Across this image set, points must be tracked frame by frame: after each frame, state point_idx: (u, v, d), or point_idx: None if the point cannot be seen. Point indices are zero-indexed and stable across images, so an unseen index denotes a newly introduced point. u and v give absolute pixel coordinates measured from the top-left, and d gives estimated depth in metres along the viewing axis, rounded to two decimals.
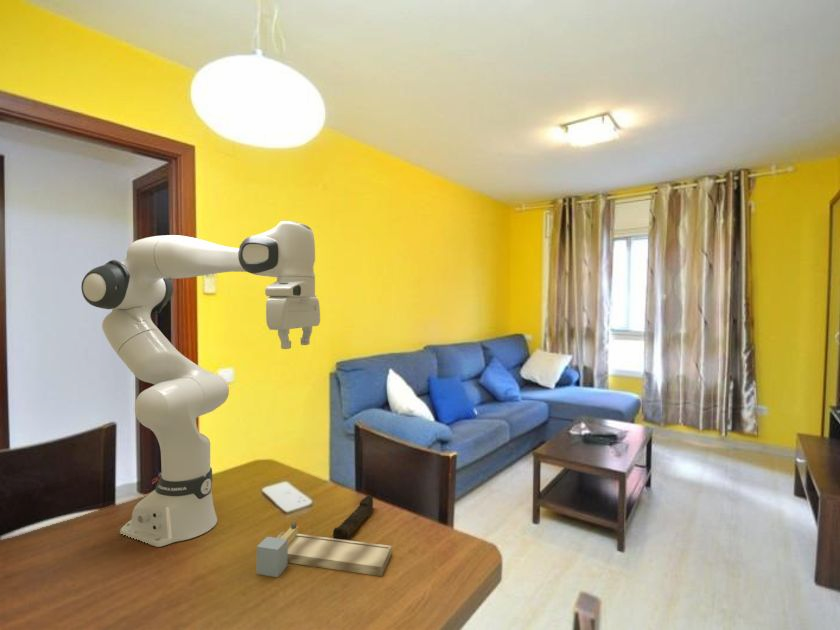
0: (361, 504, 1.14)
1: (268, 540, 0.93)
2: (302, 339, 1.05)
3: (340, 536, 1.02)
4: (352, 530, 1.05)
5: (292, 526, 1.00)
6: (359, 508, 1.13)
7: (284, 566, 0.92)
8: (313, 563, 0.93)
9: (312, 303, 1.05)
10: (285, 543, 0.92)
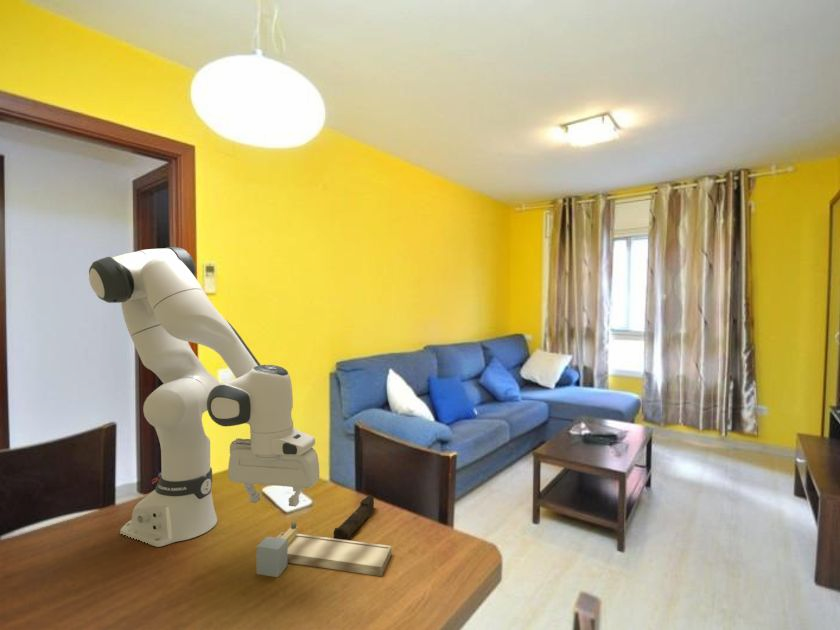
0: (362, 504, 1.14)
1: (268, 540, 0.93)
2: (255, 495, 0.92)
3: (340, 536, 1.02)
4: (352, 530, 1.05)
5: (292, 526, 1.00)
6: (360, 508, 1.12)
7: (284, 566, 0.92)
8: (313, 563, 0.93)
9: None
10: (285, 543, 0.92)
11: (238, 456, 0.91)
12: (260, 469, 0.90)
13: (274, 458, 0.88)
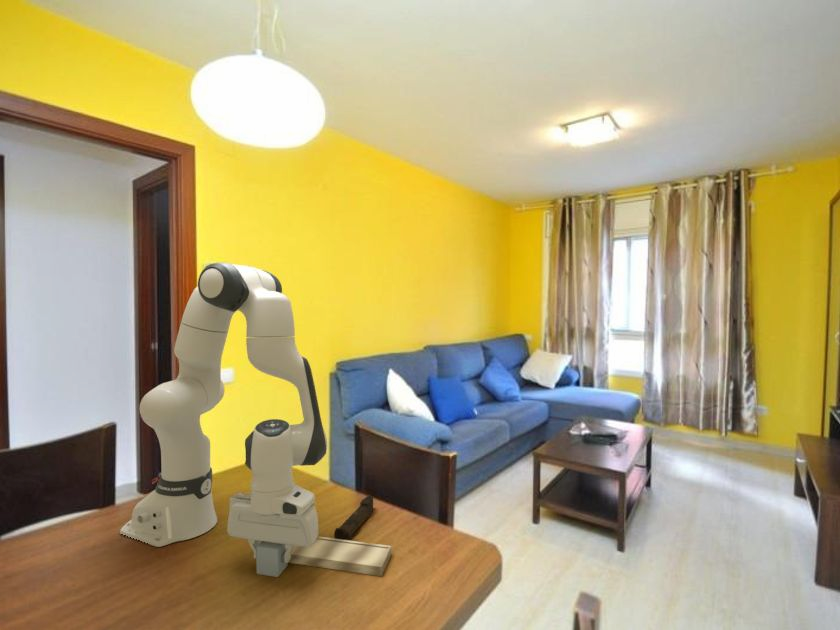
0: (362, 504, 1.14)
1: None
2: None
3: (341, 537, 1.02)
4: (353, 530, 1.05)
5: None
6: (360, 508, 1.12)
7: (284, 566, 0.92)
8: (313, 563, 0.93)
9: None
10: None
11: (238, 511, 0.91)
12: (259, 526, 0.90)
13: (274, 516, 0.89)
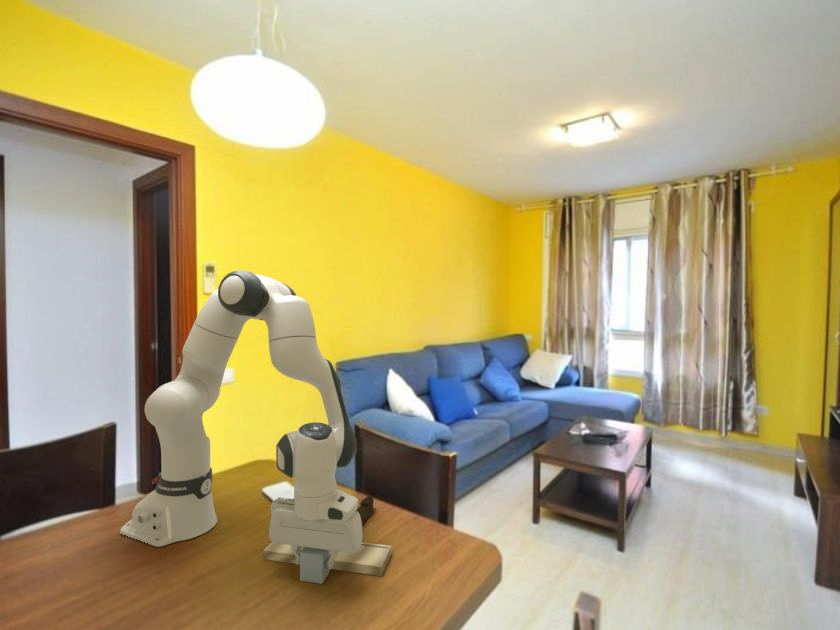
0: (362, 504, 1.14)
1: None
2: None
3: None
4: None
5: None
6: (360, 508, 1.12)
7: (327, 572, 0.90)
8: None
9: None
10: None
11: (280, 517, 0.89)
12: (302, 531, 0.88)
13: (318, 522, 0.86)
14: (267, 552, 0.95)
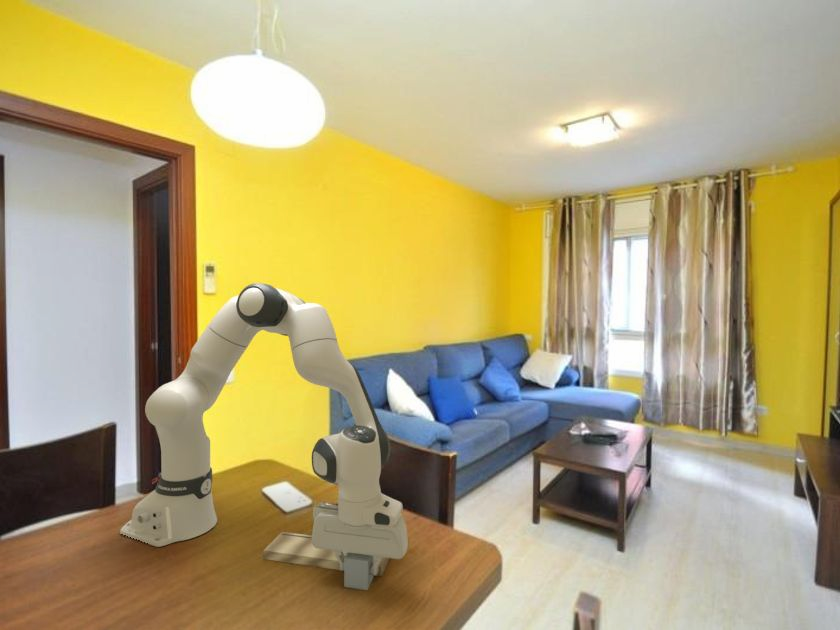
0: None
1: None
2: None
3: None
4: None
5: None
6: None
7: (371, 578, 0.88)
8: (313, 563, 0.93)
9: None
10: None
11: (324, 522, 0.87)
12: (347, 537, 0.86)
13: (364, 527, 0.85)
14: (267, 552, 0.95)
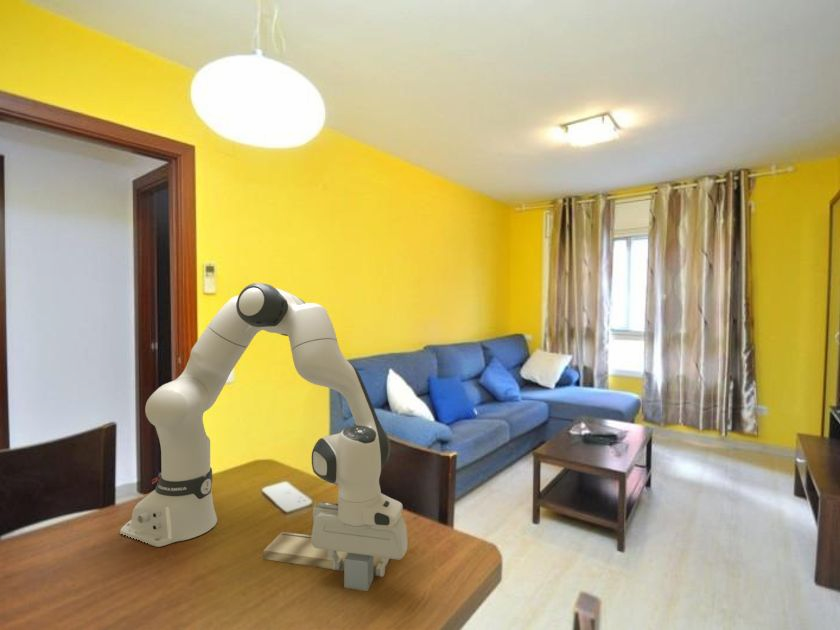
0: None
1: None
2: (339, 563, 0.88)
3: None
4: None
5: None
6: None
7: (371, 579, 0.88)
8: (313, 563, 0.93)
9: None
10: None
11: (323, 522, 0.87)
12: (347, 537, 0.86)
13: (363, 527, 0.84)
14: (267, 552, 0.95)
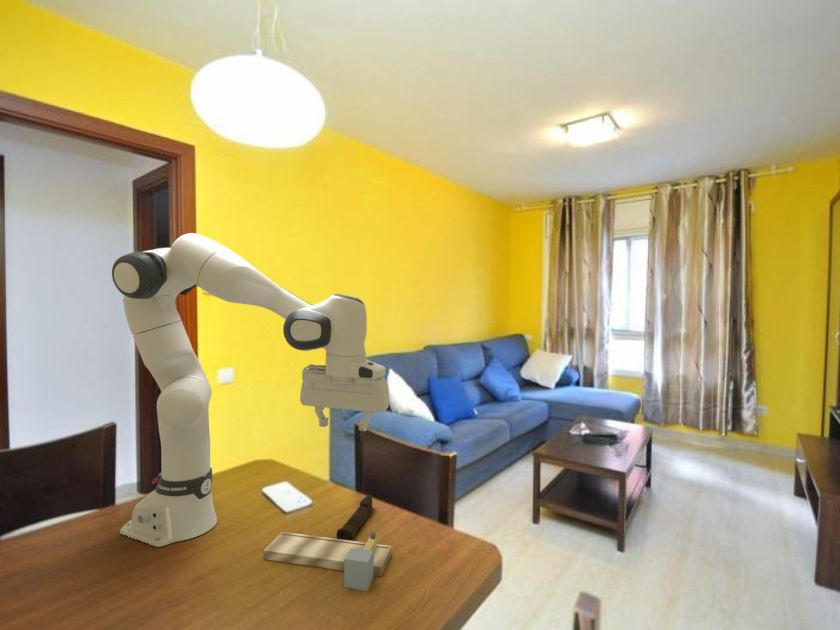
0: (361, 504, 1.14)
1: (354, 551, 0.89)
2: (325, 420, 0.95)
3: (343, 537, 1.01)
4: (355, 531, 1.05)
5: (372, 536, 0.96)
6: (360, 508, 1.12)
7: (371, 579, 0.88)
8: (313, 563, 0.93)
9: None
10: (372, 555, 0.88)
11: (312, 380, 0.94)
12: (333, 393, 0.93)
13: (348, 382, 0.91)
14: (267, 552, 0.95)
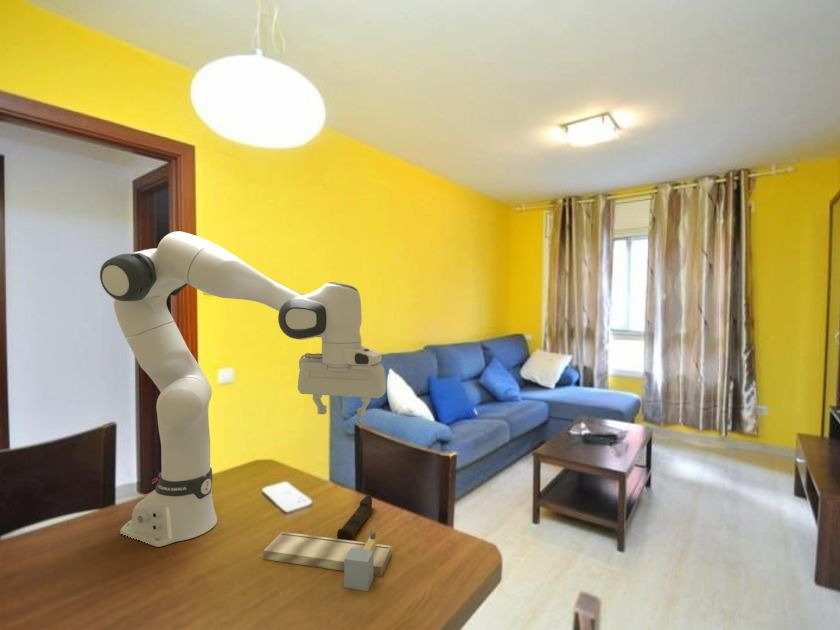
0: (361, 504, 1.14)
1: (354, 551, 0.89)
2: (323, 407, 0.95)
3: (344, 537, 1.01)
4: (355, 530, 1.05)
5: (371, 536, 0.96)
6: (360, 508, 1.12)
7: (371, 579, 0.88)
8: (313, 563, 0.93)
9: None
10: (372, 555, 0.88)
11: (309, 368, 0.94)
12: (330, 380, 0.93)
13: (345, 369, 0.92)
14: (267, 552, 0.95)
